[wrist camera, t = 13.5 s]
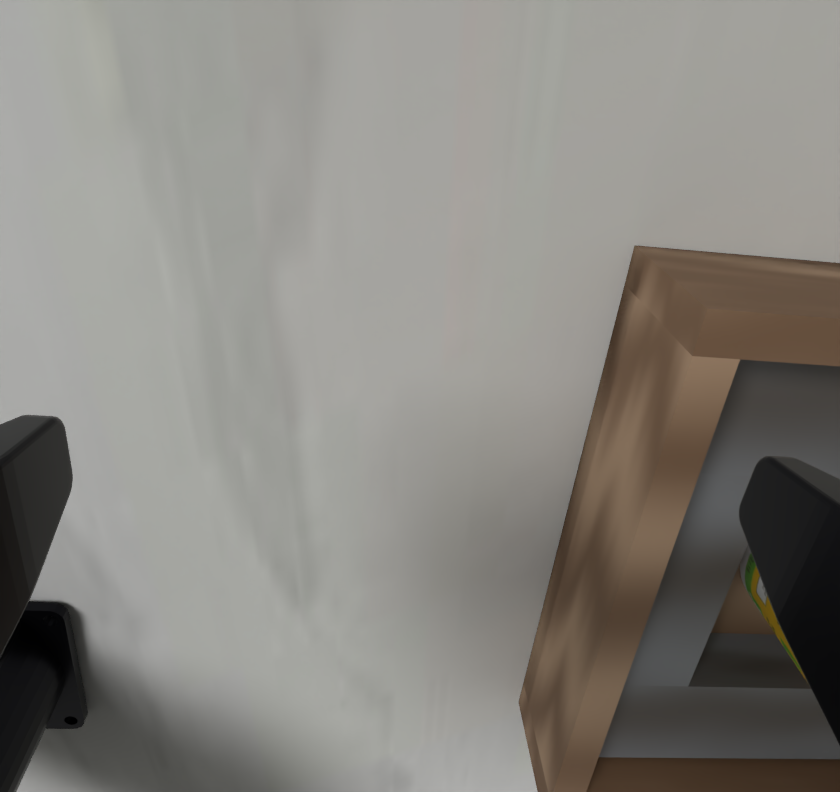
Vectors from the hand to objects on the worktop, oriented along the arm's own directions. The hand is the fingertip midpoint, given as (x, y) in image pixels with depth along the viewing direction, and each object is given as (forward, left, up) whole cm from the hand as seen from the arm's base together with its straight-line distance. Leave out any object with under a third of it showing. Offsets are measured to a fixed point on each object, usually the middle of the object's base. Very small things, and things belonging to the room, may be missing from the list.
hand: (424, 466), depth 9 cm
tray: (-10, -16, -12) cm, 22 cm away
